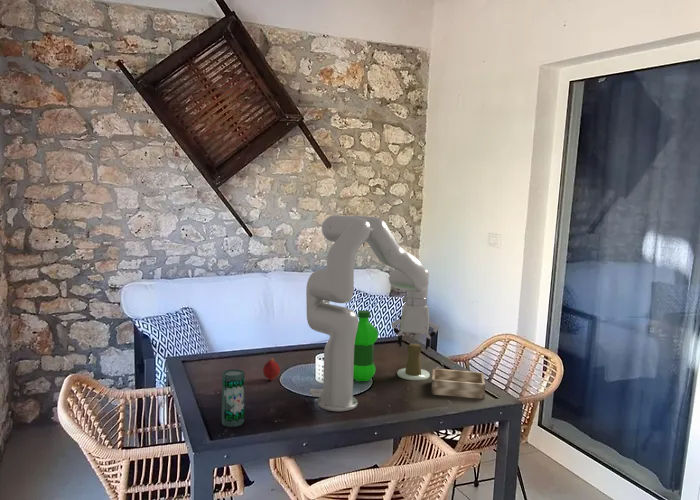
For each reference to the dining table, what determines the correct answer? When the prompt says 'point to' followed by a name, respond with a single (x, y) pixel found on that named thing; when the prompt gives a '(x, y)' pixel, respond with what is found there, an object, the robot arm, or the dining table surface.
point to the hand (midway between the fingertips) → (413, 347)
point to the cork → (413, 360)
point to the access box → (458, 383)
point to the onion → (271, 369)
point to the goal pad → (423, 376)
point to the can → (233, 397)
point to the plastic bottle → (364, 348)
